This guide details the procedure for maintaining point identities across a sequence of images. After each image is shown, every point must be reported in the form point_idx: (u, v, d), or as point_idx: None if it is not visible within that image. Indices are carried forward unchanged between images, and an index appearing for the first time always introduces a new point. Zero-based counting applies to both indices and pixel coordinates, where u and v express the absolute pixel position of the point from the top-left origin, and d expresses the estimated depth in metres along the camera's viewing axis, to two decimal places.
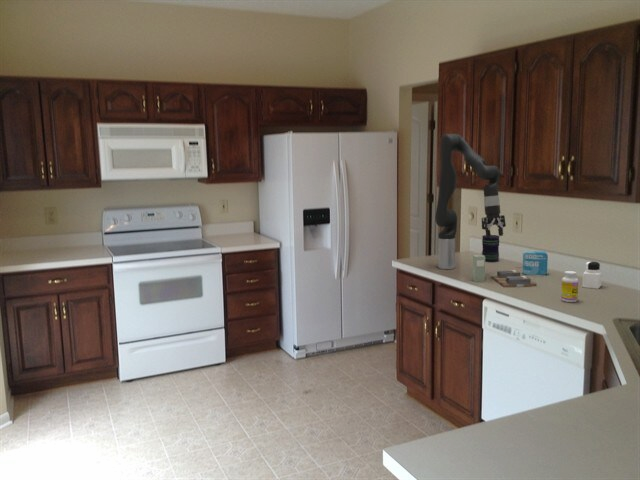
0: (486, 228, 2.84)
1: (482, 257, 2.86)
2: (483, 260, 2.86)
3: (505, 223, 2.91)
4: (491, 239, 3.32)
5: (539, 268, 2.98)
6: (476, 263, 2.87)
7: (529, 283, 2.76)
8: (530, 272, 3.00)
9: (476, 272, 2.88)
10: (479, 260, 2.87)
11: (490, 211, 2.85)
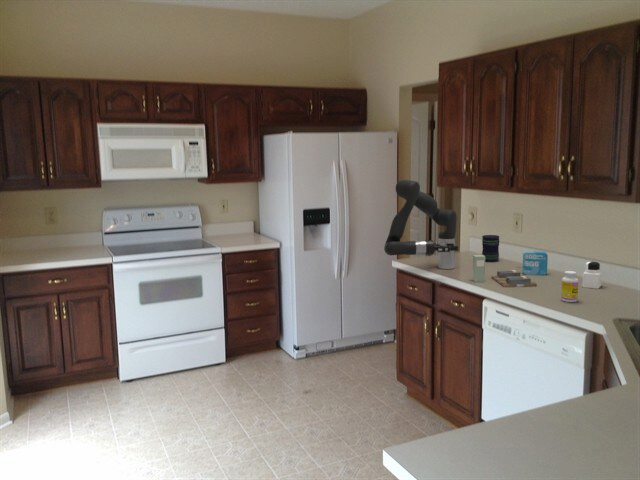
0: None
1: (482, 257, 2.86)
2: (483, 260, 2.86)
3: (447, 251, 2.81)
4: (491, 239, 3.32)
5: (539, 268, 2.98)
6: (476, 263, 2.87)
7: (529, 283, 2.76)
8: (530, 272, 3.00)
9: (476, 272, 2.88)
10: (479, 260, 2.87)
11: None
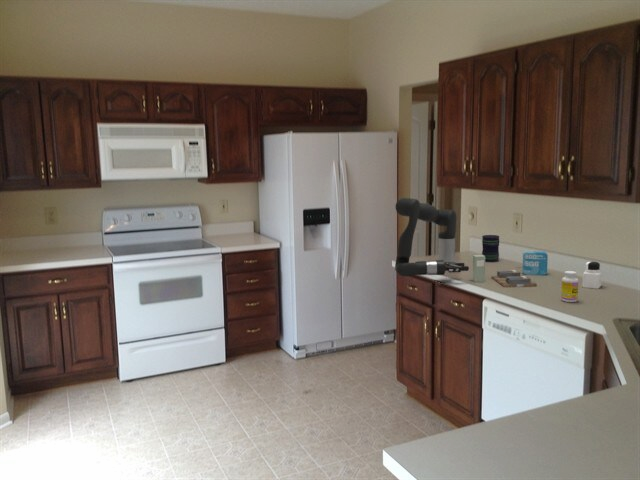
0: None
1: (482, 257, 2.86)
2: (483, 260, 2.86)
3: None
4: (491, 239, 3.32)
5: (539, 268, 2.98)
6: (476, 263, 2.87)
7: (529, 283, 2.76)
8: (530, 272, 3.00)
9: (476, 272, 2.88)
10: (479, 260, 2.87)
11: None
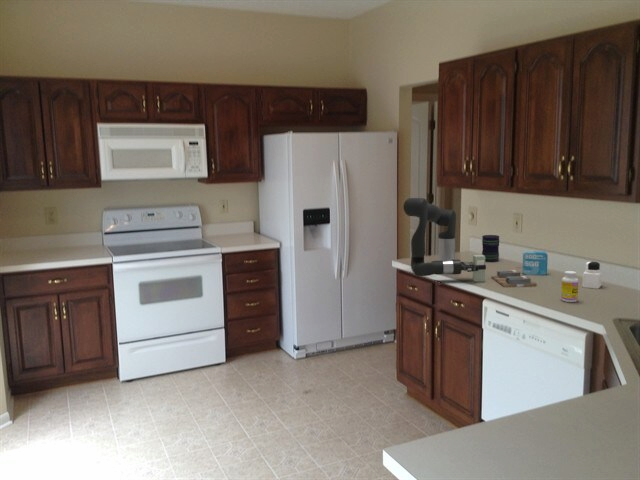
0: None
1: (482, 257, 2.86)
2: (483, 260, 2.86)
3: None
4: (491, 239, 3.32)
5: (539, 268, 2.98)
6: (476, 263, 2.87)
7: (529, 283, 2.76)
8: (530, 272, 3.00)
9: (476, 272, 2.87)
10: (479, 260, 2.87)
11: None
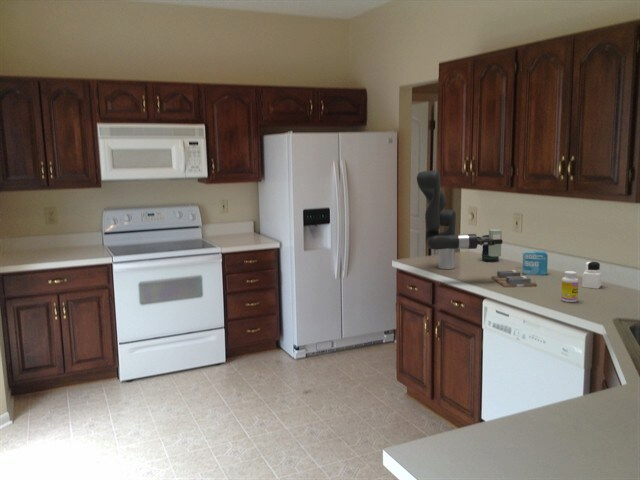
0: None
1: (498, 231, 2.82)
2: (499, 235, 2.82)
3: None
4: None
5: (539, 268, 2.98)
6: (492, 237, 2.82)
7: (529, 283, 2.76)
8: (530, 272, 3.00)
9: (492, 246, 2.83)
10: (495, 234, 2.82)
11: None
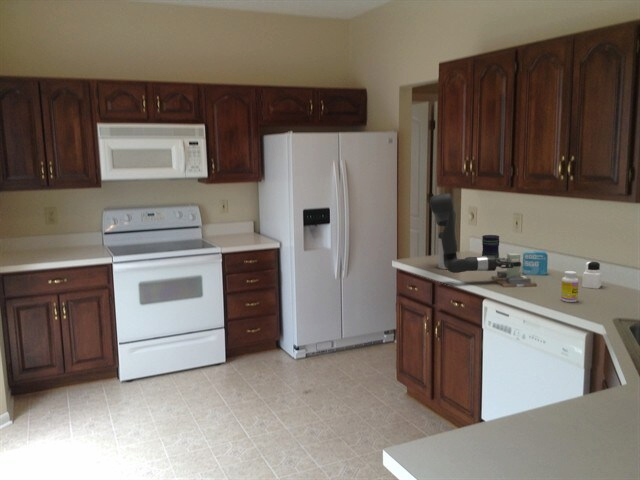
0: None
1: (517, 255, 2.81)
2: (518, 259, 2.81)
3: None
4: (491, 239, 3.32)
5: (539, 268, 2.98)
6: None
7: (529, 283, 2.76)
8: (530, 272, 3.00)
9: (511, 271, 2.83)
10: (514, 259, 2.82)
11: None
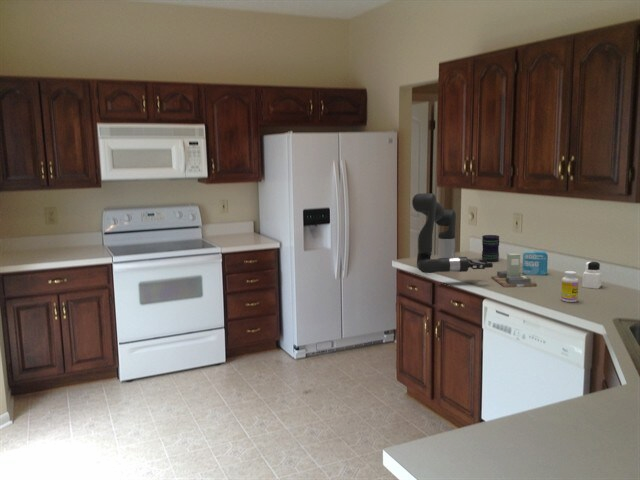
0: None
1: (517, 255, 2.81)
2: (518, 259, 2.81)
3: None
4: (491, 239, 3.32)
5: (539, 268, 2.98)
6: (511, 262, 2.82)
7: (529, 283, 2.76)
8: (530, 272, 3.00)
9: (511, 271, 2.83)
10: (514, 259, 2.82)
11: None
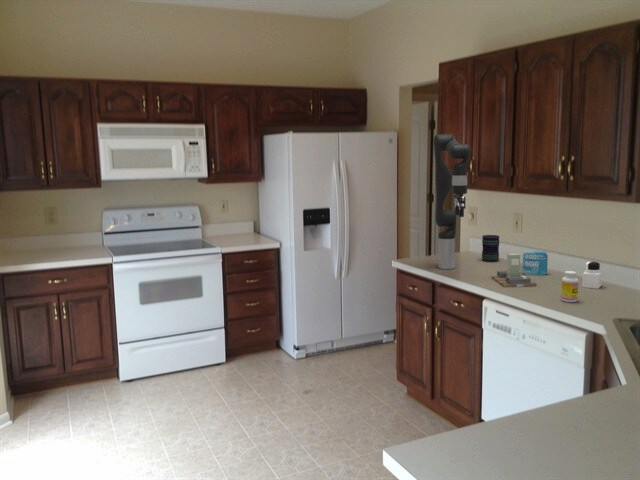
0: (454, 205, 2.96)
1: (517, 255, 2.81)
2: (518, 259, 2.81)
3: (460, 205, 2.82)
4: (491, 239, 3.32)
5: (539, 268, 2.98)
6: (511, 262, 2.82)
7: (529, 283, 2.76)
8: (530, 272, 3.00)
9: (511, 271, 2.83)
10: (514, 259, 2.82)
11: None
